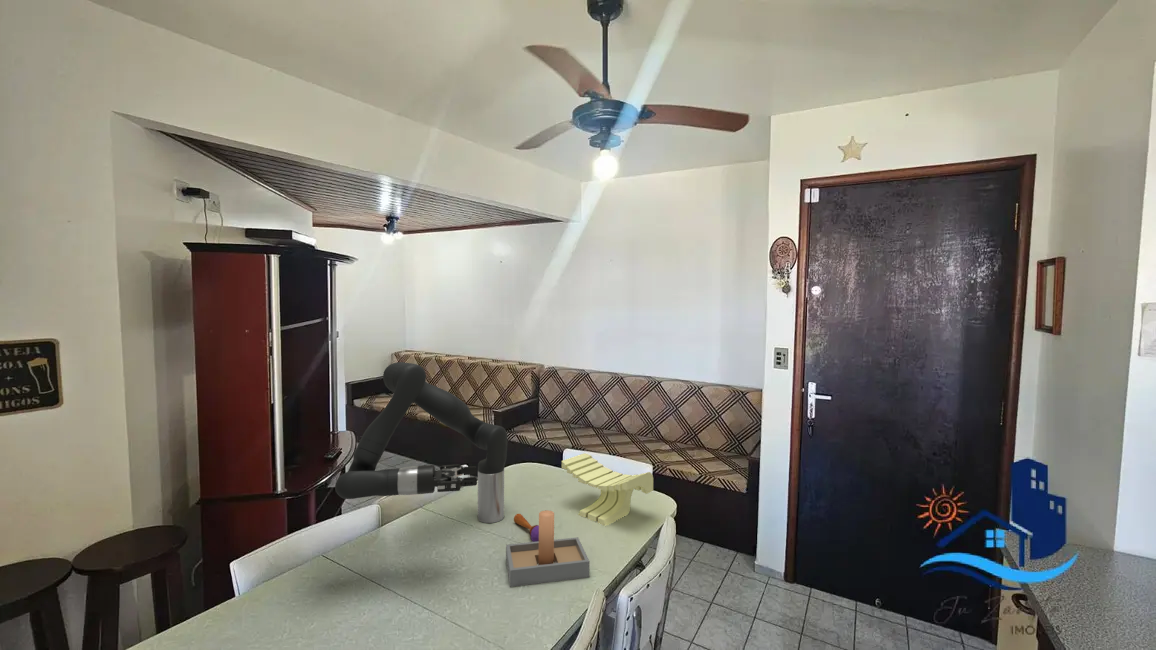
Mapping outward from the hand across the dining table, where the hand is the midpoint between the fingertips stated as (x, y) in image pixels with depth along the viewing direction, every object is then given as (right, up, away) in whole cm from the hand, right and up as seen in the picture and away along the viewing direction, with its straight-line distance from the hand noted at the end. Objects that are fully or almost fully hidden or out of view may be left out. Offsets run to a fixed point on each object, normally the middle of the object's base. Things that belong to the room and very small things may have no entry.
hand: (476, 475), depth 135 cm
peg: (+20, -27, +2) cm, 34 cm away
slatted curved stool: (+39, -26, +38) cm, 61 cm away
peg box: (+20, -27, +2) cm, 34 cm away
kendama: (+13, -27, +22) cm, 37 cm away
